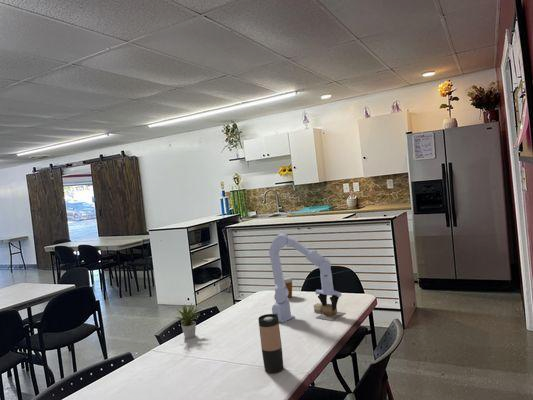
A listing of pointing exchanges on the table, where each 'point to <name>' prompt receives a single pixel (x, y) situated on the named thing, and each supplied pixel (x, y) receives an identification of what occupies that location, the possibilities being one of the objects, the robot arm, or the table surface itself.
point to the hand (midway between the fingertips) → (329, 309)
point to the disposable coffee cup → (288, 285)
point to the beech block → (318, 308)
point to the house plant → (188, 321)
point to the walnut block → (329, 310)
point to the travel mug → (271, 343)
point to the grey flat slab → (330, 316)
